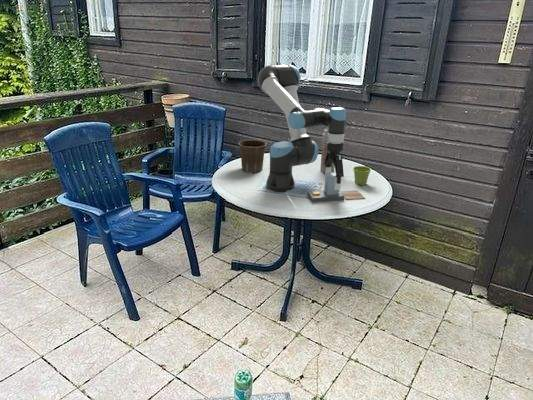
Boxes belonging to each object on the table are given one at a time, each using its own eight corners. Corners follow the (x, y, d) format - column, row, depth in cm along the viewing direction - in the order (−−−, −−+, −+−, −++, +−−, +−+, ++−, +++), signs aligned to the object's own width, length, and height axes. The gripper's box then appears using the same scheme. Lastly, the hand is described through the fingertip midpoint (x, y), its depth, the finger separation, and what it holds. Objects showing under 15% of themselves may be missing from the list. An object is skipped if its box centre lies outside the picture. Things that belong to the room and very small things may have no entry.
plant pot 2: (361, 188, 209) (363, 172, 205) (348, 183, 216) (349, 167, 212) (372, 184, 214) (374, 169, 210) (359, 179, 221) (361, 164, 217)
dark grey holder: (306, 196, 197) (307, 189, 196) (337, 194, 200) (337, 187, 199) (312, 203, 189) (312, 196, 188) (343, 201, 192) (344, 194, 191)
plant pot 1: (269, 166, 240) (269, 140, 234) (262, 175, 226) (262, 148, 219) (243, 164, 244) (243, 138, 237) (235, 172, 229) (234, 145, 223)
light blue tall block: (323, 195, 196) (325, 173, 192) (335, 195, 198) (337, 172, 193) (326, 199, 192) (328, 176, 188) (338, 198, 193) (340, 175, 189)
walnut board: (338, 193, 201) (338, 191, 201) (356, 192, 203) (357, 190, 203) (345, 201, 192) (346, 199, 192) (364, 200, 194) (365, 197, 194)
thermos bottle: (327, 174, 228) (330, 126, 217) (317, 170, 234) (320, 123, 223) (336, 171, 233) (340, 124, 222) (327, 168, 239) (330, 122, 227)
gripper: (353, 148, 173) (349, 193, 182) (333, 135, 196) (330, 175, 204) (337, 149, 172) (333, 194, 180) (319, 135, 194) (317, 176, 203)
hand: (332, 184), depth 192 cm, fingers open, 13 cm apart
